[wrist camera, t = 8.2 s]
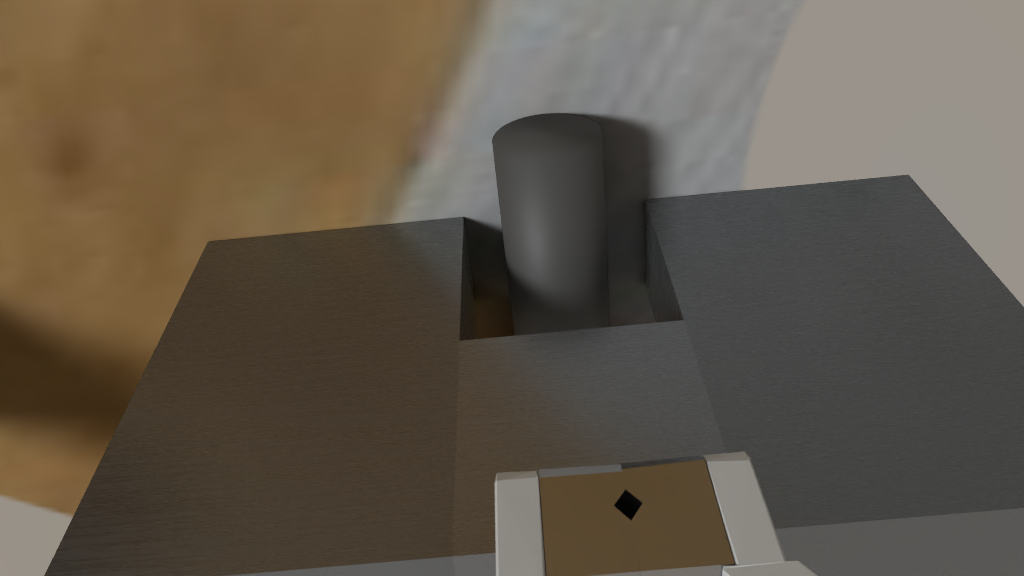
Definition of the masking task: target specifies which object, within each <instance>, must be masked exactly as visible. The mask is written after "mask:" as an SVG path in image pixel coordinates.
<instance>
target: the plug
mask: <svg viewBox="0 0 1024 576" xmlns="http://www.w3.org/2000/svg"><path fill="white" fill-rule="evenodd" d="M492 144H493V152H494V161H495V170H496V179H497V187H498V196H499V205H500V214H501V222H502V231H503V240H504V248H505V257H506V266H507V275H508V283H509V292H510V301H511V310H512V318H513V327H514V336H517V335H528V334H539V333H549V332H560V331H571V330H582V329H593V328H604V327H610V314H609V288H608V263H607V238H606V212H605V187H604V162H603V136H602V129H601V127H600V126H599V125H598V124H597V123H596V122H594V121H592V120H590V119H588V118H585V117H582V116H578V115H572V114H560V113H553V114H540V115H534V116H529V117H524V118H521V119H518V120H515V121H513V122H510V123H508V124H506V125H505V126H503V127H502V128H500V129H499V130H498V131H497V132H496V133H495V134H494V136H493V139H492Z"/></svg>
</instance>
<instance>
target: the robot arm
mask: <svg viewBox="0 0 1024 576" xmlns="http://www.w3.org/2000/svg"><path fill="white" fill-rule="evenodd" d="M539 481H540V483H539ZM495 541H496V576H818V575H817V574H815V573H814V572H813V571H812V570H810V569H809V568H808V567H807V566H805V565H804V564H803V563H802V562H800V561H786V559H785V556H784V553H783V551H782V548H781V545H780V542H779V539H778V536H777V533H776V531H775V528H774V525H773V522H772V519H771V516H770V513H769V511H768V508H767V505H766V502H765V499H764V496H763V494H762V491H761V488H760V485H759V482H758V479H757V476H756V474H755V471H754V468H753V465H752V462H751V459H750V457H749V456H748V455H747V454H746V453H745V452H744V451H743V452H733V453H722V454H712V455H703V456H702V457H701V456H691V457H680V458H670V459H660V460H650V461H640V462H630V463H620V464H617V465H601V466H585V467H569V468H554V469H539V474H538V470H535V471H519V472H503V473H497V474H496V479H495Z"/></svg>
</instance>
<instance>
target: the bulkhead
mask: <svg viewBox="0 0 1024 576" xmlns="http://www.w3.org/2000/svg"><path fill="white" fill-rule="evenodd" d="M646 280H647V291H648V294H649V298H650V301H651V305H652V309H653V312H654V316H655V320H656V323H648V324H637V325H626V326H615V327H604V328H593V329H582V330H571V331H560V332H549V333H539V334H528V335H517V336H506V337H495V338H484V339H475V317H476V302H475V295H474V288H473V281H472V274H471V267H470V260H469V253H468V246H467V239H466V232H465V225H464V217H462V218H452V219H441V220H431V221H420V222H410V223H399V224H389V225H379V226H368V227H358V228H347V229H337V230H326V231H316V232H305V233H295V234H284V235H274V236H264V237H253V238H243V239H232V240H222V241H211V242H208V243H207V245H206V247H205V249H204V251H203V253H202V255H201V257H200V259H199V261H198V263H197V265H196V267H195V269H194V271H193V273H192V275H191V277H190V279H189V281H188V283H187V285H186V288H185V290H184V292H183V294H182V296H181V298H180V300H179V302H178V304H177V306H176V308H175V310H174V312H173V314H172V316H171V318H170V320H169V322H168V324H167V326H166V328H165V330H164V332H163V334H162V337H161V339H160V341H159V343H158V345H157V347H156V349H155V351H154V353H153V355H152V357H151V359H150V361H149V363H148V365H147V367H146V369H145V371H144V373H143V375H142V377H141V379H140V381H139V383H138V386H137V388H136V390H135V392H134V394H133V396H132V398H131V400H130V402H129V404H128V406H127V408H126V410H125V412H124V414H123V416H122V418H121V420H120V422H119V424H118V426H117V428H116V430H115V432H114V435H113V437H112V439H111V441H110V443H109V445H108V447H107V449H106V451H105V453H104V455H103V457H102V459H101V461H100V463H99V465H98V467H97V469H96V471H95V473H94V475H93V477H92V479H91V481H90V484H89V486H88V488H87V490H86V492H85V494H84V496H83V498H82V500H81V502H80V504H79V506H78V508H77V510H76V512H75V514H74V516H73V518H72V520H71V522H70V525H69V526H68V529H67V530H66V533H65V535H64V537H63V539H62V541H61V543H60V545H59V547H58V549H57V551H56V553H55V555H54V557H53V559H52V561H51V563H50V565H49V567H48V569H47V572H46V573H45V575H44V576H496V541H495V479H496V474H497V473H503V472H519V471H535V470H538V474H539V469H554V468H569V467H585V466H601V465H617V464H620V463H630V462H640V461H650V460H660V459H670V458H680V457H691V456H701V457H702V456H703V455H712V454H722V453H733V452H743V451H744V452H745V453H746V454H747V455H748V456H749V457H750V459H751V462H752V465H753V468H754V471H755V474H756V476H757V479H758V482H759V485H760V488H761V491H762V494H763V496H764V499H765V502H766V505H767V508H768V511H769V513H770V516H771V519H772V522H773V525H774V528H775V531H776V533H777V536H778V539H779V542H780V545H781V548H782V551H783V553H784V556H785V559H786V561H800V562H802V563H803V564H804V565H805V566H807V567H808V568H809V569H810V570H812V571H813V572H814V573H815V574H817V575H818V576H1024V307H1023V306H1022V305H1021V304H1020V302H1019V301H1018V300H1017V299H1016V298H1015V297H1014V295H1013V294H1012V293H1011V292H1010V291H1009V290H1008V289H1007V287H1006V286H1005V285H1004V284H1003V283H1002V282H1001V281H1000V279H999V278H998V277H997V276H996V275H995V274H994V273H993V271H992V270H991V269H990V268H989V267H988V266H987V264H985V262H984V261H983V260H982V259H981V258H980V256H979V255H978V254H977V253H976V252H975V251H974V250H973V248H972V247H971V246H970V245H969V244H968V243H967V241H966V240H965V239H964V238H963V237H962V236H961V235H960V233H959V232H958V231H957V230H956V229H955V228H954V227H953V226H952V224H951V223H950V222H949V221H948V220H947V219H946V217H945V216H944V215H943V214H942V213H941V212H940V210H939V209H938V208H937V207H936V206H935V205H934V204H933V202H932V201H931V200H930V199H929V198H928V197H927V196H926V194H925V193H924V192H923V191H922V190H921V189H920V188H919V186H918V185H917V184H916V183H915V182H914V181H913V179H912V178H911V177H910V176H909V175H901V176H891V177H880V178H870V179H860V180H849V181H838V182H828V183H818V184H807V185H797V186H786V187H776V188H766V189H755V190H744V191H734V192H723V193H713V194H703V195H692V196H682V197H671V198H661V199H650V200H646ZM539 483H540V481H539Z"/></svg>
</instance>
